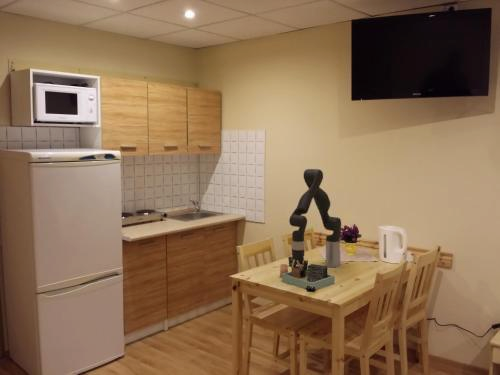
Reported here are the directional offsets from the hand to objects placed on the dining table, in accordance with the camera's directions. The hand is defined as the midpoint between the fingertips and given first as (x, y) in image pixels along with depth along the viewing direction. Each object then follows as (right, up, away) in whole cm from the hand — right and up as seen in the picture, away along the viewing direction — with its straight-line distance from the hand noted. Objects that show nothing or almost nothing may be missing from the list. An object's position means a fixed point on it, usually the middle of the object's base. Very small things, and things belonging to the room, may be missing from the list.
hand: (297, 275), depth 278 cm
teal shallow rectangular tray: (+6, -4, -1) cm, 7 cm away
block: (0, -1, +1) cm, 1 cm away
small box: (+11, -4, -2) cm, 12 cm away
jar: (-8, -3, +11) cm, 14 cm away
